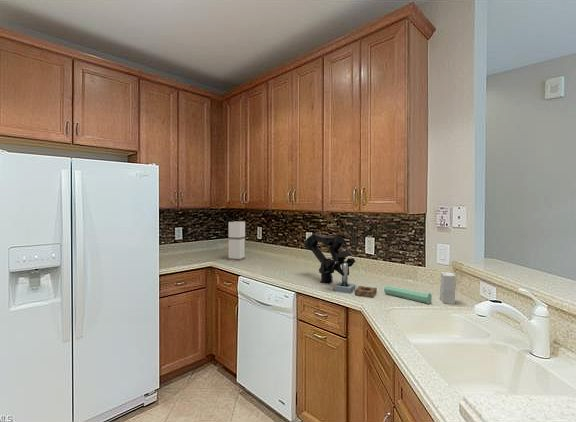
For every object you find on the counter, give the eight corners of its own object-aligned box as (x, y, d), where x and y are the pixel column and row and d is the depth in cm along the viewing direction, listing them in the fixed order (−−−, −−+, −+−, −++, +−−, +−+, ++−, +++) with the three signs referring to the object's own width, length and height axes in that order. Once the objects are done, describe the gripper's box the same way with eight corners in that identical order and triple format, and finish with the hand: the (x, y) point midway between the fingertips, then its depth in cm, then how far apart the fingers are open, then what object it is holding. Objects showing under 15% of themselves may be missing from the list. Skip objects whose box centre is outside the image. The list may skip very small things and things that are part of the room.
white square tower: (245, 259, 278) (245, 221, 278) (239, 261, 268) (239, 222, 267) (234, 258, 282) (234, 221, 281) (228, 260, 272) (228, 222, 271)
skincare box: (439, 298, 163) (440, 271, 162) (451, 299, 161) (452, 272, 161) (442, 303, 155) (443, 274, 154) (455, 304, 153) (456, 275, 152)
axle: (340, 286, 178) (341, 263, 177) (343, 285, 180) (343, 262, 180) (345, 287, 175) (346, 263, 175) (348, 286, 178) (348, 263, 178)
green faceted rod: (383, 283, 172) (428, 291, 153) (388, 285, 175) (432, 294, 157) (381, 293, 170) (426, 303, 152) (386, 295, 174) (430, 305, 155)
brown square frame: (354, 295, 168) (354, 290, 168) (359, 290, 177) (359, 285, 177) (372, 297, 163) (372, 292, 163) (376, 293, 172) (376, 288, 172)
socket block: (333, 291, 176) (333, 286, 176) (339, 287, 184) (339, 282, 184) (350, 293, 171) (350, 288, 171) (355, 289, 180) (355, 284, 180)
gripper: (328, 246, 177) (338, 269, 167) (353, 245, 185) (365, 266, 175) (321, 257, 184) (330, 279, 174) (345, 255, 192) (356, 276, 182)
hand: (346, 275), depth 176 cm, fingers closed on axle, 3 cm apart
